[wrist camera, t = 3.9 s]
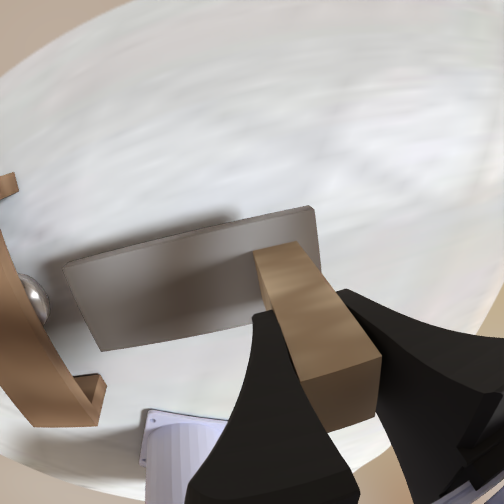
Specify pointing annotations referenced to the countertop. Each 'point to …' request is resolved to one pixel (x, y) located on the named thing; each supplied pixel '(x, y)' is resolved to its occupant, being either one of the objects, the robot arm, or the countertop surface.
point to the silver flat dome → (36, 297)
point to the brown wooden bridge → (38, 356)
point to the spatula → (236, 302)
